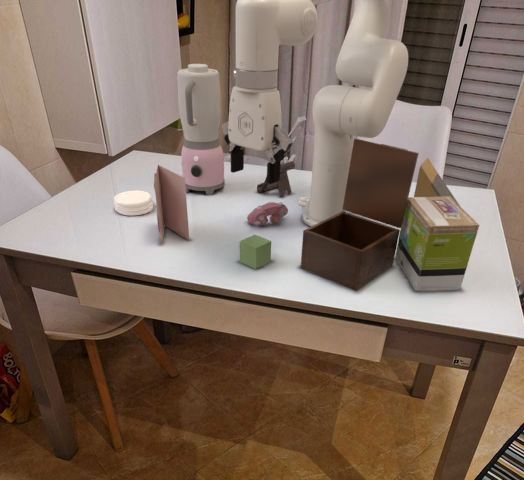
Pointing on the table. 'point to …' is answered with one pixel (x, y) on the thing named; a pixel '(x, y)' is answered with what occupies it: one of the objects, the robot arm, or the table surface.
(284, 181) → the tablet stand
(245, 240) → the green block
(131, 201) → the coaster
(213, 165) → the blender
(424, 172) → the sandwich container
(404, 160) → the lid
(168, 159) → the table surface
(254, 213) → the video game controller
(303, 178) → the table surface
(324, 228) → the wooden box
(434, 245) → the tea box
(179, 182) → the greeting card
